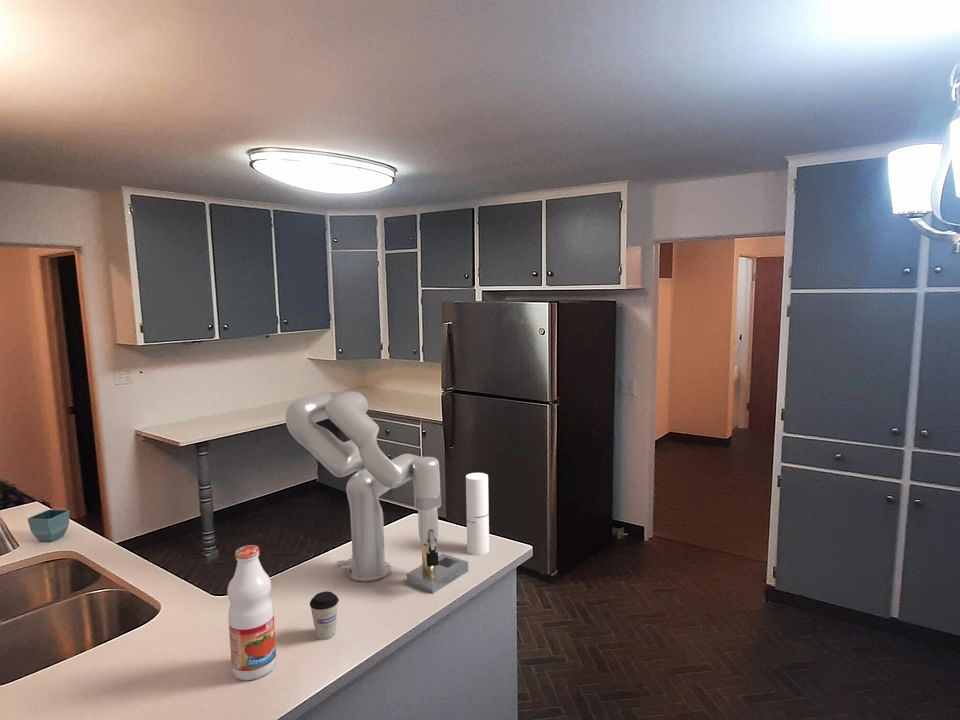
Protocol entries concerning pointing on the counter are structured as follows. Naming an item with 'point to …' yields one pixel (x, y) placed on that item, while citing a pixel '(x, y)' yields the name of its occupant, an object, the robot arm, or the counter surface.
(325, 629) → the coffee cup
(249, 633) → the fruit juice
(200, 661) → the counter surface
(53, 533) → the flower pot
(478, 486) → the cylindrical container
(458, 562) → the jig plate
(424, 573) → the tan cylindrical peg
